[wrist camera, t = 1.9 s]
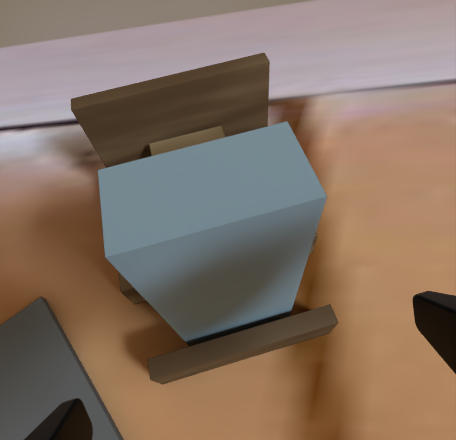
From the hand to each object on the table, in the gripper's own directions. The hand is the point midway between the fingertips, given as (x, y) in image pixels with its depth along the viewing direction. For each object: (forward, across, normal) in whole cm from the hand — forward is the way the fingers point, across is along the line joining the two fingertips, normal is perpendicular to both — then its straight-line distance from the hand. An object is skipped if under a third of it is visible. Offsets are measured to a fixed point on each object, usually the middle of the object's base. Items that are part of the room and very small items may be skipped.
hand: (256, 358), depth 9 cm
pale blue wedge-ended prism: (+11, 0, +5) cm, 12 cm away
